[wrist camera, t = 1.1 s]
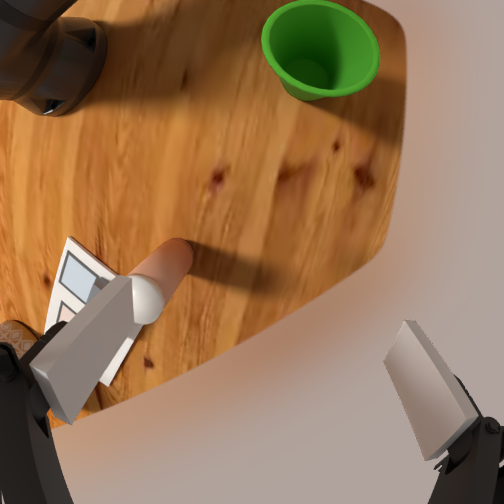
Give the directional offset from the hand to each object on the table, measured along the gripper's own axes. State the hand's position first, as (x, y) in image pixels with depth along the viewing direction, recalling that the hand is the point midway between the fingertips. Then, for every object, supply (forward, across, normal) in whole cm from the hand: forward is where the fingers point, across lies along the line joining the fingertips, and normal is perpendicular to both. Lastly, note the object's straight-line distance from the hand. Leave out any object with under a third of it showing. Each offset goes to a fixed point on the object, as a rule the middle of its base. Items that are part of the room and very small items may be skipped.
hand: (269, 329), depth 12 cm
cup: (+20, +1, +17) cm, 26 cm away
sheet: (+20, -25, -20) cm, 38 cm away
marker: (+20, -10, -6) cm, 23 cm away
